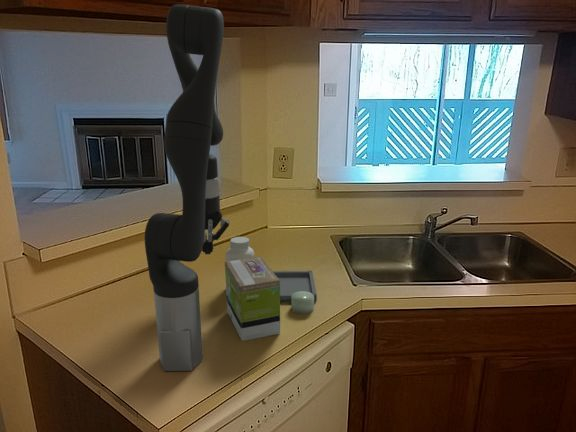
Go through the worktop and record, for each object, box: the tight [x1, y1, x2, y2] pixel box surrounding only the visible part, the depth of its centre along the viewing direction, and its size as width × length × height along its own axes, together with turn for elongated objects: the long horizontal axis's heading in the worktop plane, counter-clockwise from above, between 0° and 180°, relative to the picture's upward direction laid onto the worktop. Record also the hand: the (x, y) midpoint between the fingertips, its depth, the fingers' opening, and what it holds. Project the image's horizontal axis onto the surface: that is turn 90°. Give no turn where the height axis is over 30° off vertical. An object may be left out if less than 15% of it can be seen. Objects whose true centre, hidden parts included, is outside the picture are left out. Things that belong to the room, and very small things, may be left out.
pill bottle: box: [225, 236, 255, 262], centre depth 138 cm, size 8×8×15 cm
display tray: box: [272, 270, 318, 303], centre depth 140 cm, size 16×16×2 cm
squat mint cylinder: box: [290, 291, 315, 315], centre depth 129 cm, size 6×6×4 cm
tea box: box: [224, 255, 281, 342], centre depth 120 cm, size 15×10×15 cm, turn 21°
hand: (208, 253), depth 136 cm, fingers closed
